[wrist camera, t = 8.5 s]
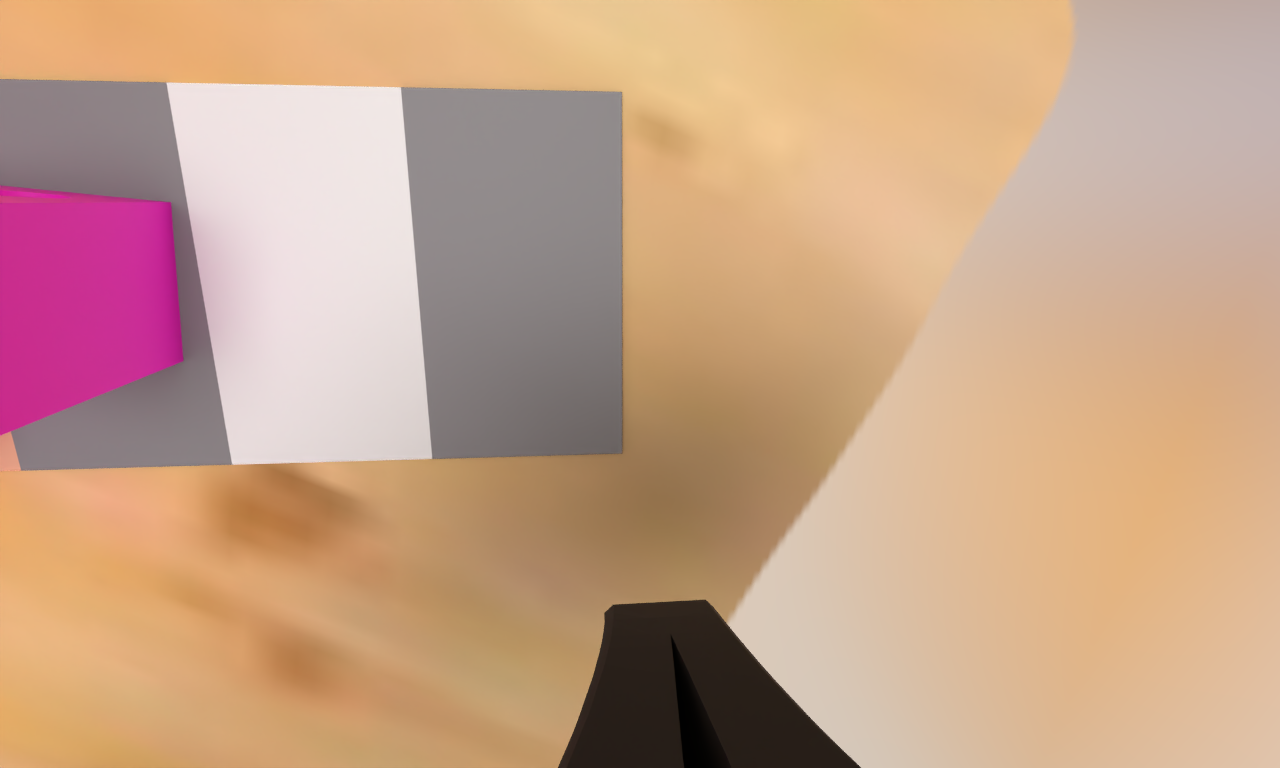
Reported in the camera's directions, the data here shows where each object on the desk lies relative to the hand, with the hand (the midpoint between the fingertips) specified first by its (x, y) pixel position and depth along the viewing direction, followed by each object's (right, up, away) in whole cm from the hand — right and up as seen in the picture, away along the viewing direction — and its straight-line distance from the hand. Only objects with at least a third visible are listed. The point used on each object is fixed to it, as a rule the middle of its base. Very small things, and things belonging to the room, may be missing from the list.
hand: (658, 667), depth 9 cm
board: (-13, +6, +7) cm, 16 cm away
